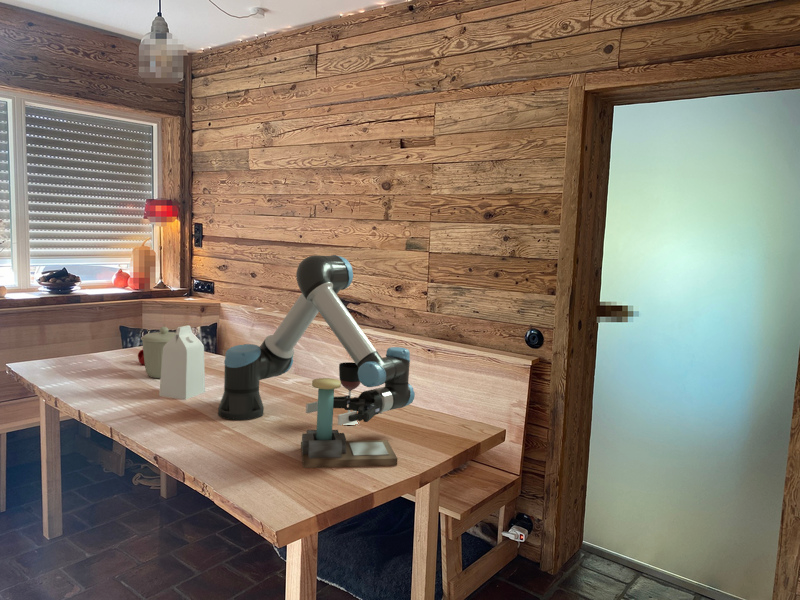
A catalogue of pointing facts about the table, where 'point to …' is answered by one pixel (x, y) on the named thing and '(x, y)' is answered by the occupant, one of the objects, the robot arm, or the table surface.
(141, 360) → the pomegranate
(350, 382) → the wineglass
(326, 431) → the disc-capped post
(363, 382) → the robot arm
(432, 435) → the table surface
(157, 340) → the canister
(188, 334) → the milk
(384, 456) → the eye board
